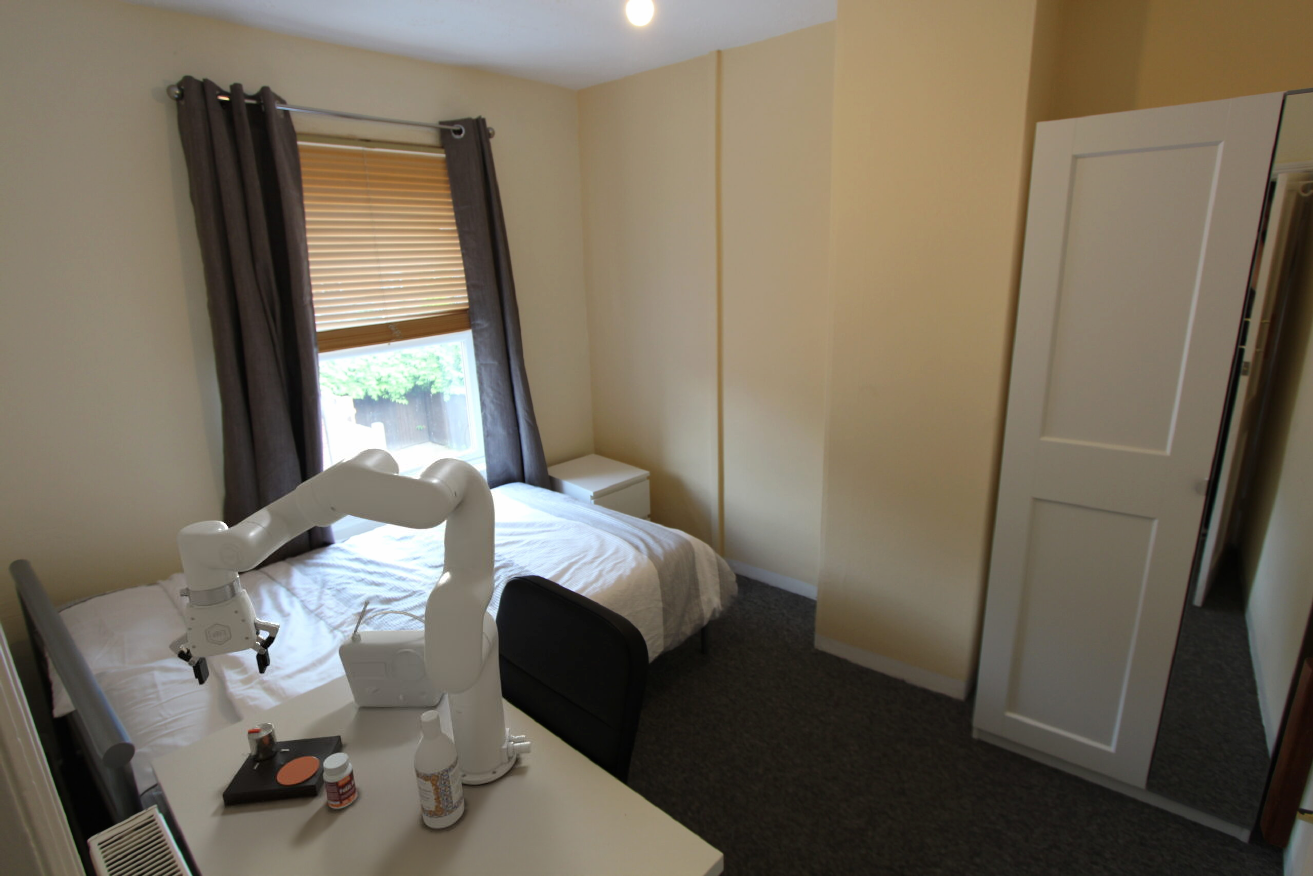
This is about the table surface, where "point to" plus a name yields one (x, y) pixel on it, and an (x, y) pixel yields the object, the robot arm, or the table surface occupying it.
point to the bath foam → (438, 774)
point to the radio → (388, 667)
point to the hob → (261, 776)
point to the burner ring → (298, 770)
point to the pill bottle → (339, 781)
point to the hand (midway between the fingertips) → (234, 675)
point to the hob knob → (262, 741)
